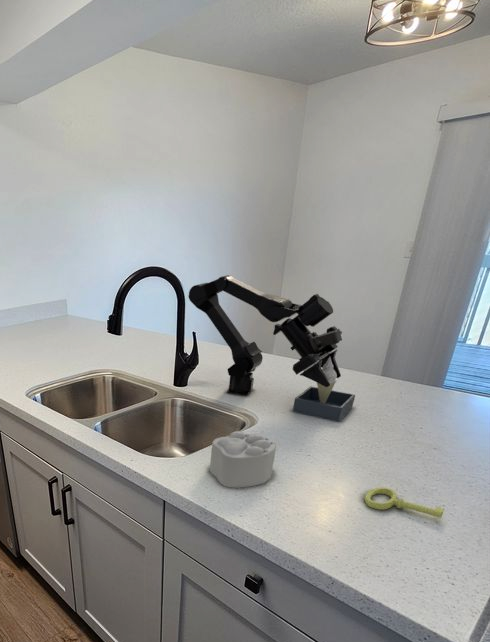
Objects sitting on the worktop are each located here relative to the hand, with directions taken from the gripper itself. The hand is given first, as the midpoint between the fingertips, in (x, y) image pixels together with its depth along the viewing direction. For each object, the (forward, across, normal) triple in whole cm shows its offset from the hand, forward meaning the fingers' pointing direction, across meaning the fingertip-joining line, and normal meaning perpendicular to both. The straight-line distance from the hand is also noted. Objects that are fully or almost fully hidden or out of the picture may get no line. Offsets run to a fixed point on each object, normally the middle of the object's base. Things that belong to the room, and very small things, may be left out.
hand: (334, 381), depth 120 cm
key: (+24, -40, -12) cm, 48 cm away
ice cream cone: (+5, 0, +7) cm, 9 cm away
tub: (+5, 0, +7) cm, 9 cm away
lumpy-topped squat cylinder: (+4, -47, +8) cm, 48 cm away
